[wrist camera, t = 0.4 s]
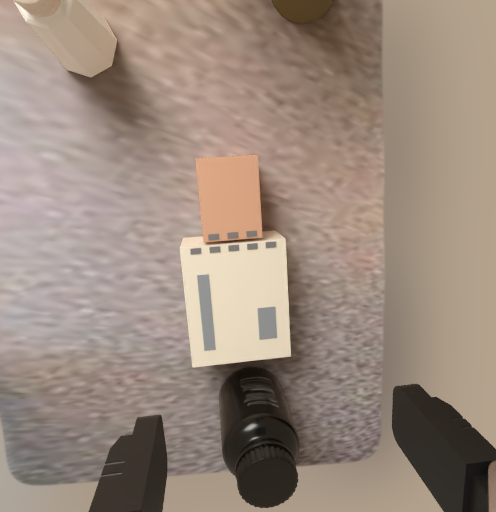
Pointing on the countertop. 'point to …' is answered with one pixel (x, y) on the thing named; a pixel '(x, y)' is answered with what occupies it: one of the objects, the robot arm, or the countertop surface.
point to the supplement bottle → (258, 437)
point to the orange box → (229, 198)
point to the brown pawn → (302, 9)
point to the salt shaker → (72, 33)
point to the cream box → (236, 299)
